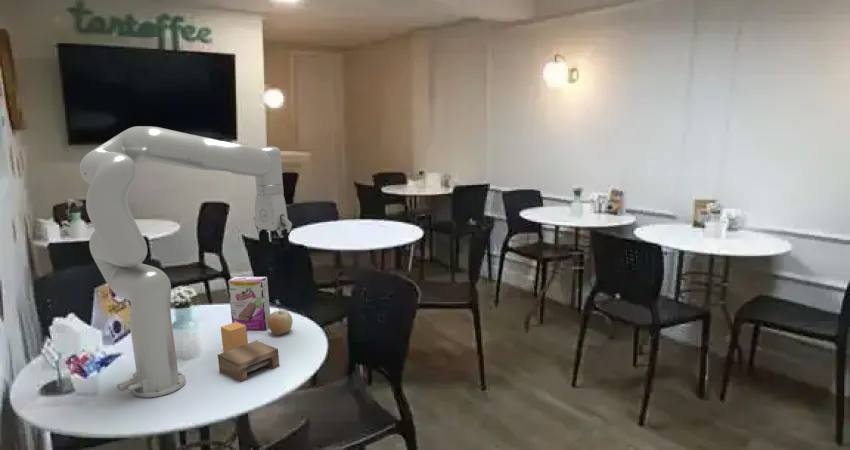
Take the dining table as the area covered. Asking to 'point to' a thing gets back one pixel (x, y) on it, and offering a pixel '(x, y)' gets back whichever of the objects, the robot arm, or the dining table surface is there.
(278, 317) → the fruit
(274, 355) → the shelf
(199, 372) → the dining table surface
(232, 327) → the upright orange cuboid
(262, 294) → the candy bar box
